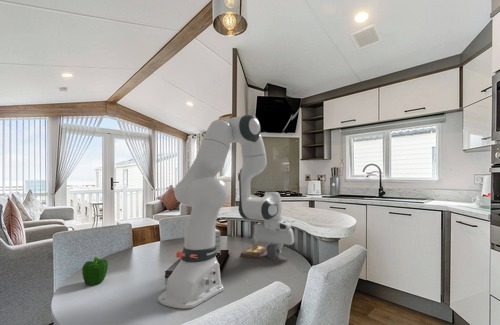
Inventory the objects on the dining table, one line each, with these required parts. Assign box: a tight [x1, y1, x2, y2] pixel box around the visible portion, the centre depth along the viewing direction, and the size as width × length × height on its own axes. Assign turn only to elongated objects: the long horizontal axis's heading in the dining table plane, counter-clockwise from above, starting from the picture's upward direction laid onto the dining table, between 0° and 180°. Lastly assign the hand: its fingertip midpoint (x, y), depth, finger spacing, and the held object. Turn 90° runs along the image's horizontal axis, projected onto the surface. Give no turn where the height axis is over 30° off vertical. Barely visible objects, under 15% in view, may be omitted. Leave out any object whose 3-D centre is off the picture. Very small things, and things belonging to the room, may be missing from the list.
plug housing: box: [266, 243, 282, 260], centre depth 119 cm, size 9×4×6 cm, turn 156°
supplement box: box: [215, 228, 221, 254], centre depth 122 cm, size 7×7×13 cm
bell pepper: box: [81, 256, 109, 286], centre depth 92 cm, size 8×8×10 cm
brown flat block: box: [240, 240, 267, 259], centre depth 125 cm, size 16×9×6 cm, turn 156°
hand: (274, 252), depth 119 cm, fingers closed on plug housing, 4 cm apart
